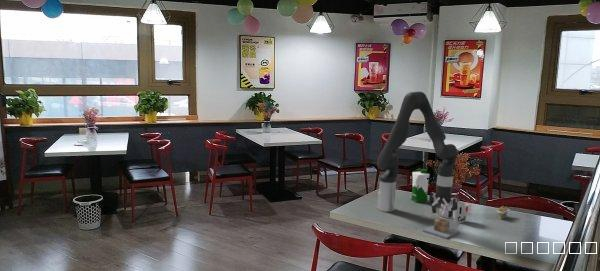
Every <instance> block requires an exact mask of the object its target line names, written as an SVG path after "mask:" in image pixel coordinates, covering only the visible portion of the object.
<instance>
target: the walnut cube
mask: <svg viewBox="0 0 600 271" xmlns="http://www.w3.org/2000/svg"><path fill="white" fill-rule="evenodd" d="M449 222H450V221H449V220H447V219H443V218H438V219H436V220H434V224H433V225H434V230H436V231H439V232H442V233H444V232H446V231H448V227H449V224H450V223H449ZM449 228H450V227H449Z"/></svg>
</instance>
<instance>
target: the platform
mask: <svg viewBox="0 0 600 271" xmlns="http://www.w3.org/2000/svg"><path fill="white" fill-rule="evenodd" d="M510 209H511V208H507V206H505V207H504V205H502V206H500V207H499V208H498V209H497V210H496V212H497V213H498V219H500V220H501V221H502V220H503V219H505V218H507V217H508V211H510Z"/></svg>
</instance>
